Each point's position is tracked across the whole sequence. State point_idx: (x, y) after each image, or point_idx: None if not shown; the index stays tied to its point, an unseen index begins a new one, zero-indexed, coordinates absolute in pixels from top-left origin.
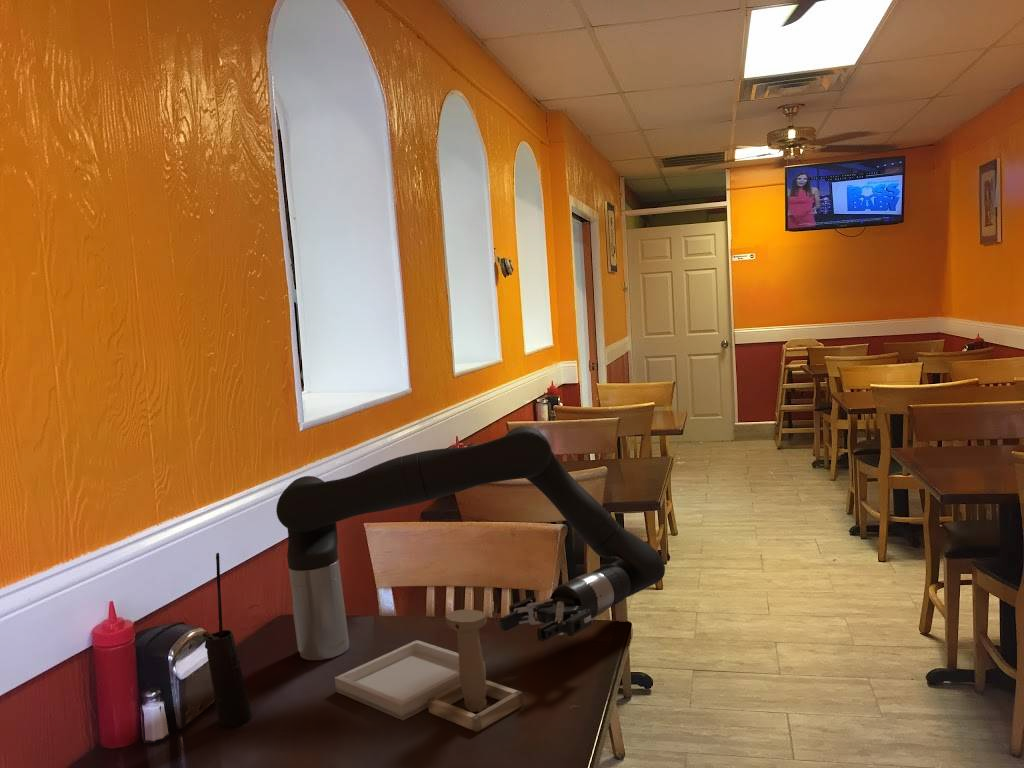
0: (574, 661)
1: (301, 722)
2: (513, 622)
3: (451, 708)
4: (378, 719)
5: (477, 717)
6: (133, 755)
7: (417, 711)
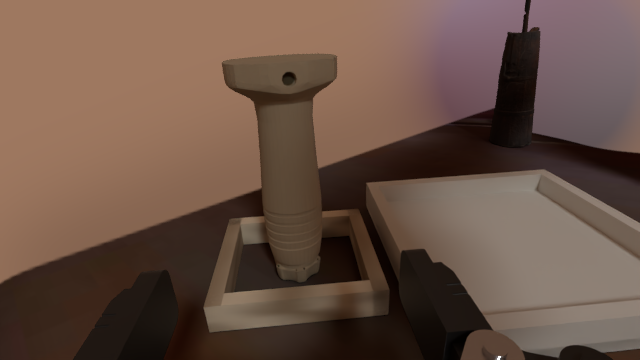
0: None
1: (457, 161)
2: (423, 331)
3: None
4: None
5: (231, 221)
6: (478, 115)
7: (372, 218)
